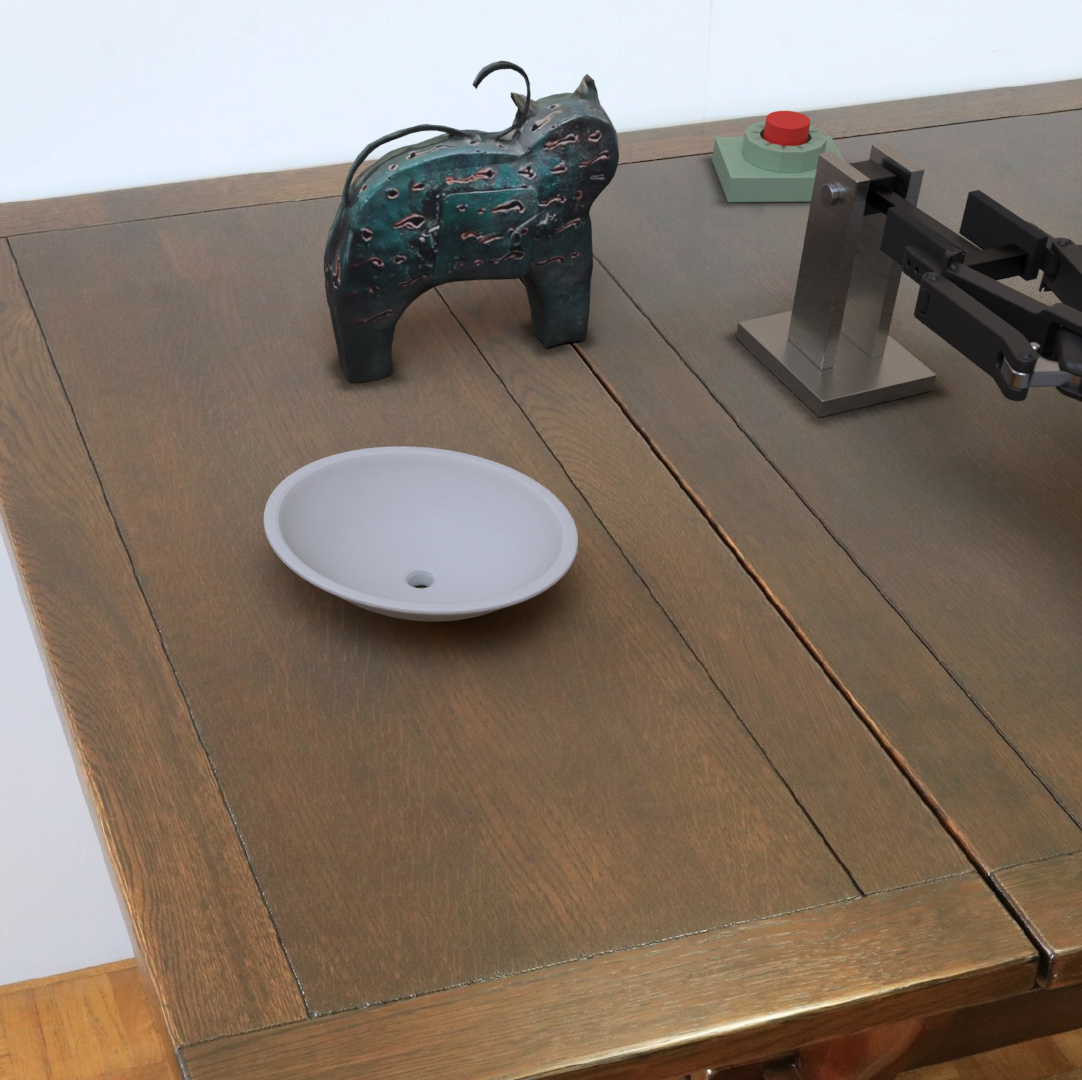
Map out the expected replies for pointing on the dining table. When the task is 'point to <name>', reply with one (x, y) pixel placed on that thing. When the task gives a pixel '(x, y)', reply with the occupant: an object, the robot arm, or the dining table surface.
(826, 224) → the bracket
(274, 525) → the white oval sink basin
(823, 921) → the dining table surface
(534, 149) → the ceramic cat
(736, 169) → the button box
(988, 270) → the lever
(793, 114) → the button
